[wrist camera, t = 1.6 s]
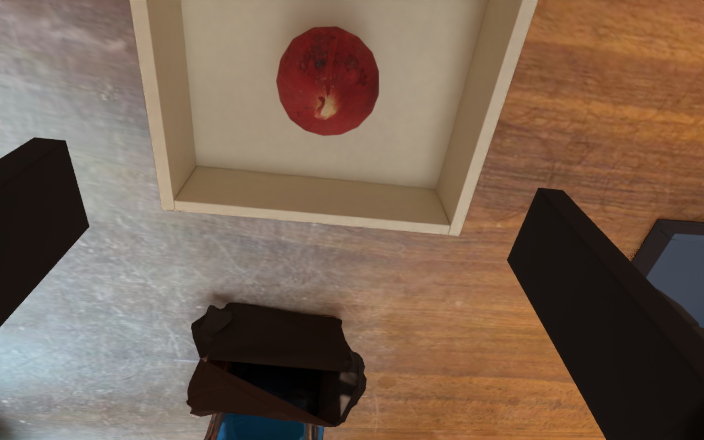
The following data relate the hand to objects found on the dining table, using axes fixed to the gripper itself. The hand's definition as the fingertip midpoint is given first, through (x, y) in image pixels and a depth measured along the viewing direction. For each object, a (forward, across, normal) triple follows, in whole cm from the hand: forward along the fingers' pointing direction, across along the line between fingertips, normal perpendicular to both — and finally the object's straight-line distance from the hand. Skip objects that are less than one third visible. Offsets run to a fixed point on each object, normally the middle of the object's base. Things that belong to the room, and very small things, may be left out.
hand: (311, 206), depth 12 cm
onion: (+17, 0, 0) cm, 17 cm away
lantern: (+18, -3, -33) cm, 38 cm away
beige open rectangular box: (+18, 0, 0) cm, 18 cm away
